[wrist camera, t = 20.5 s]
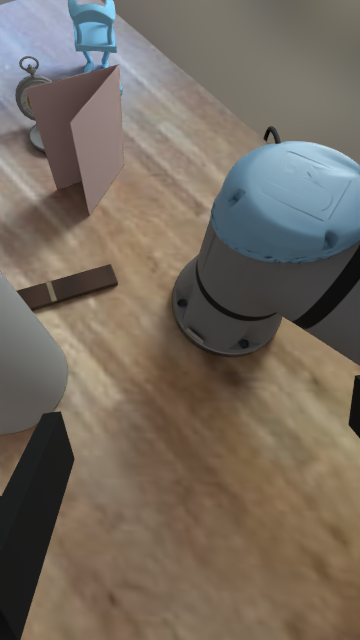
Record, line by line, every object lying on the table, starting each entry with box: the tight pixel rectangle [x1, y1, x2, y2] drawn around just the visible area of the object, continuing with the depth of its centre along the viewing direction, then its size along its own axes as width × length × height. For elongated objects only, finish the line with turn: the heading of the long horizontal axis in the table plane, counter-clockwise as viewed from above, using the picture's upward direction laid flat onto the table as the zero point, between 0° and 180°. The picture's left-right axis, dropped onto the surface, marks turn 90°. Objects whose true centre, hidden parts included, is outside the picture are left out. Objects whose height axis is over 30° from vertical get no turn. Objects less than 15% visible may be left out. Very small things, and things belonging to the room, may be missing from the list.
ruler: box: [17, 264, 118, 311], centre depth 42 cm, size 24×3×1 cm, turn 113°
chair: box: [68, 0, 122, 94], centre depth 53 cm, size 8×8×12 cm
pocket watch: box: [16, 56, 52, 152], centre depth 48 cm, size 8×8×10 cm
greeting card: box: [25, 64, 124, 216], centre depth 43 cm, size 11×7×15 cm, turn 122°
